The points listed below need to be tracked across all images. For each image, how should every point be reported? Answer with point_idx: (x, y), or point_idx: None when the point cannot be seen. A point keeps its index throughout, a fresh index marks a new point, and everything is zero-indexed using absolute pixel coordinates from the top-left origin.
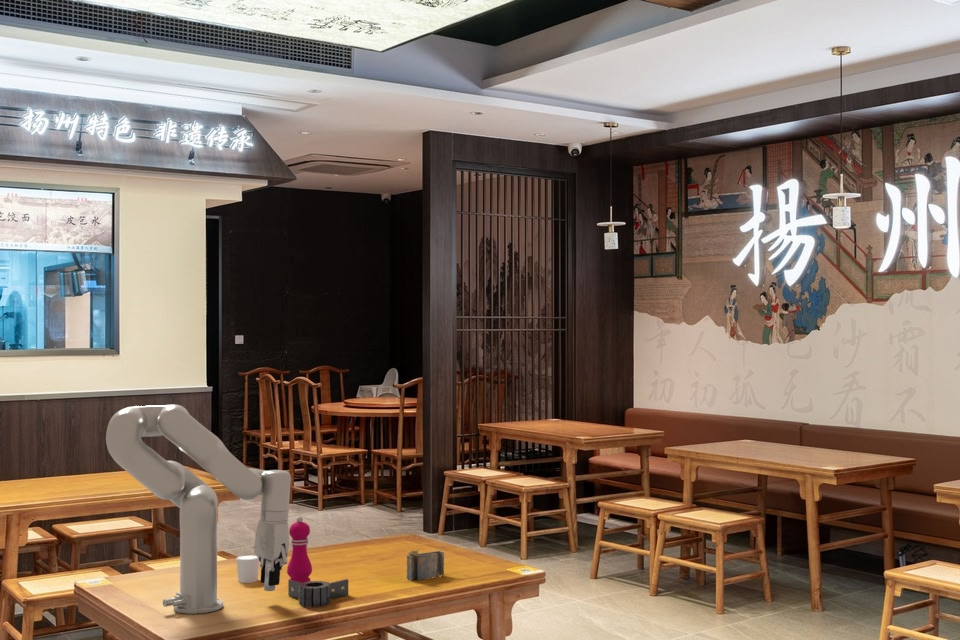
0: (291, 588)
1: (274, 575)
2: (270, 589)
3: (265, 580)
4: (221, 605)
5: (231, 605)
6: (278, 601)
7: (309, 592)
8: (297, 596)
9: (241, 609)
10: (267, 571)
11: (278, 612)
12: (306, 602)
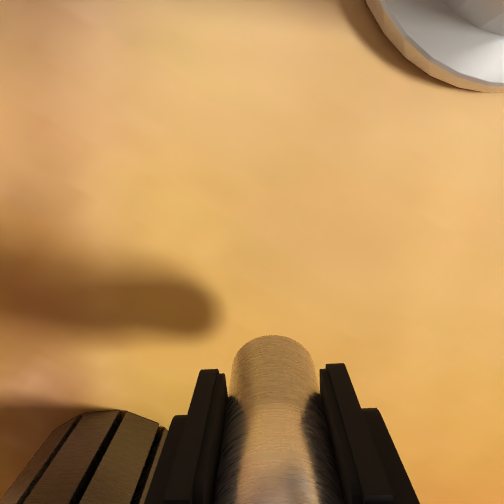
0: None
1: (154, 479)
2: (233, 365)
3: (272, 390)
4: (390, 28)
5: (398, 134)
6: None
7: (7, 499)
8: None
9: (267, 135)
10: (249, 486)
11: (63, 267)
12: (61, 435)
